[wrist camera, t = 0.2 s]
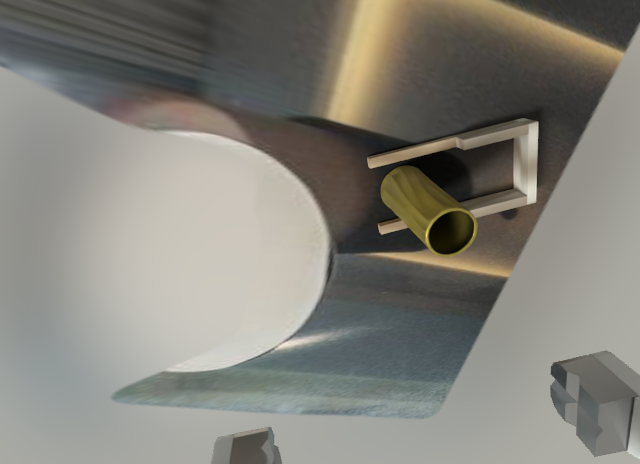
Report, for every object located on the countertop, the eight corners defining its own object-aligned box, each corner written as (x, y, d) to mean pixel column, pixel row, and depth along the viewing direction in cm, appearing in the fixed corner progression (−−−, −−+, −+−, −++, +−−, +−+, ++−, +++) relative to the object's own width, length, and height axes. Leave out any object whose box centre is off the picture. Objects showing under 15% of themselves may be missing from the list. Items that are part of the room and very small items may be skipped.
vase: (434, 177, 50) (494, 218, 37) (409, 217, 52) (458, 270, 39) (395, 157, 48) (444, 193, 35) (371, 199, 50) (409, 248, 37)
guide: (366, 157, 47) (373, 163, 45) (523, 118, 48) (538, 121, 45) (379, 231, 52) (385, 240, 49) (521, 194, 53) (536, 202, 50)
